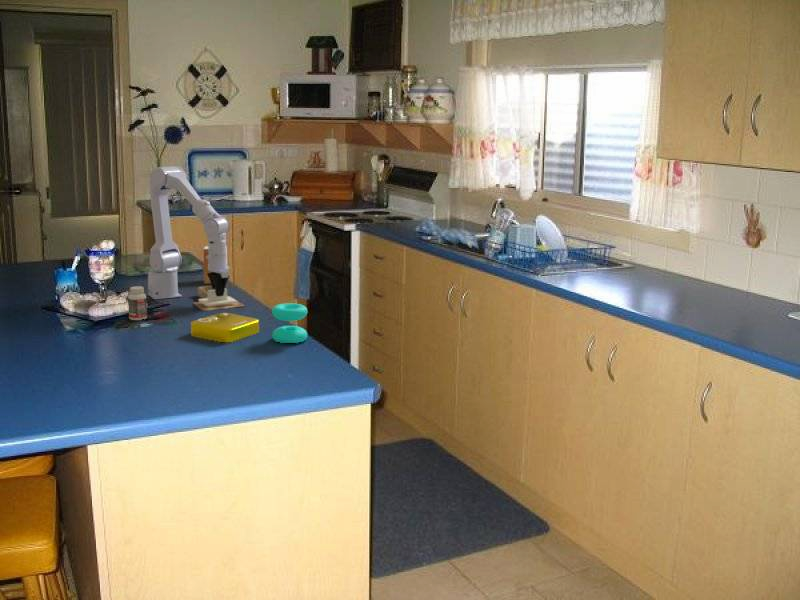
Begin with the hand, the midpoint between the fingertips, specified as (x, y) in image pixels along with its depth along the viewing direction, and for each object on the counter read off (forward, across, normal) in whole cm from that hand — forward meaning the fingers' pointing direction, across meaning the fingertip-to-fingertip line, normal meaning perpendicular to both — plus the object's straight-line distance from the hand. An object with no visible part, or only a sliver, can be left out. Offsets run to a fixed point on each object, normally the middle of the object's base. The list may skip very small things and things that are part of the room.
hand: (218, 295), depth 277 cm
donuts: (+4, -47, -5) cm, 47 cm away
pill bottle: (+4, -6, +28) cm, 28 cm away
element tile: (+4, -33, +9) cm, 34 cm away
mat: (+3, 0, 0) cm, 3 cm away
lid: (+2, 0, 0) cm, 2 cm away
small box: (+4, +34, -10) cm, 35 cm away
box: (+3, +10, -2) cm, 11 cm away
